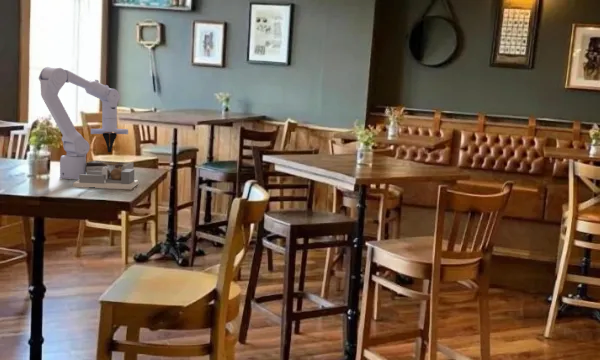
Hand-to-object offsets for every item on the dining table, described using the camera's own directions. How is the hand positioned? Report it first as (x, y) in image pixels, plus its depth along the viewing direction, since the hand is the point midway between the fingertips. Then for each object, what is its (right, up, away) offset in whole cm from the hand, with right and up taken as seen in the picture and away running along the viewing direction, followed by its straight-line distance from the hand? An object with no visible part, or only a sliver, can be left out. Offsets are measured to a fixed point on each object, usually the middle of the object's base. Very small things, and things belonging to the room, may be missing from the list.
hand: (109, 151), depth 306 cm
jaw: (+5, -10, -24) cm, 26 cm away
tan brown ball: (+9, -9, -24) cm, 27 cm away
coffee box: (+10, -8, -9) cm, 16 cm away
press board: (+5, -13, -23) cm, 27 cm away
